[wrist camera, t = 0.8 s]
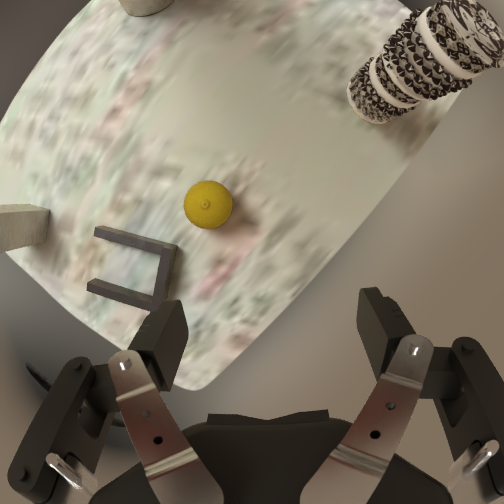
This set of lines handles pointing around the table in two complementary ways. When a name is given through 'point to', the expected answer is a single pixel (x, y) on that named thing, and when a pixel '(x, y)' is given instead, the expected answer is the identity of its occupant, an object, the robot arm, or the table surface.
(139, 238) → the channel
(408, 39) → the decorative candle
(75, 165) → the table surface
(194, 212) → the lemon
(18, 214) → the block
